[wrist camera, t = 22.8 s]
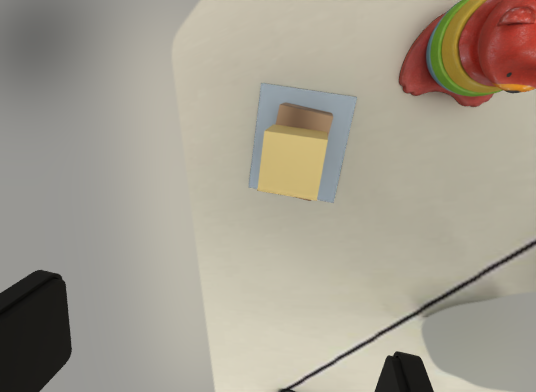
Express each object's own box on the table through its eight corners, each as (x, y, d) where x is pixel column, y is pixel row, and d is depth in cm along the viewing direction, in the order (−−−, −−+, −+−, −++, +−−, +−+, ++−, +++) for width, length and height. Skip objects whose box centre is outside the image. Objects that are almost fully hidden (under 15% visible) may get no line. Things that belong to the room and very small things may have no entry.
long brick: (331, 112, 40) (333, 116, 34) (311, 186, 43) (310, 201, 38) (285, 102, 40) (279, 104, 35) (269, 176, 44) (261, 188, 38)
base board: (356, 96, 40) (357, 97, 39) (333, 200, 45) (333, 202, 44) (263, 83, 41) (261, 83, 40) (250, 184, 46) (248, 187, 45)
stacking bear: (393, 91, 39) (446, 93, 22) (423, -2, 36) (512, -81, 19) (483, 110, 38) (608, 126, 22) (522, 16, 35) (707, -51, 18)
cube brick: (326, 132, 35) (327, 140, 29) (317, 183, 37) (316, 200, 31) (273, 124, 36) (264, 130, 30) (267, 175, 38) (257, 190, 32)
